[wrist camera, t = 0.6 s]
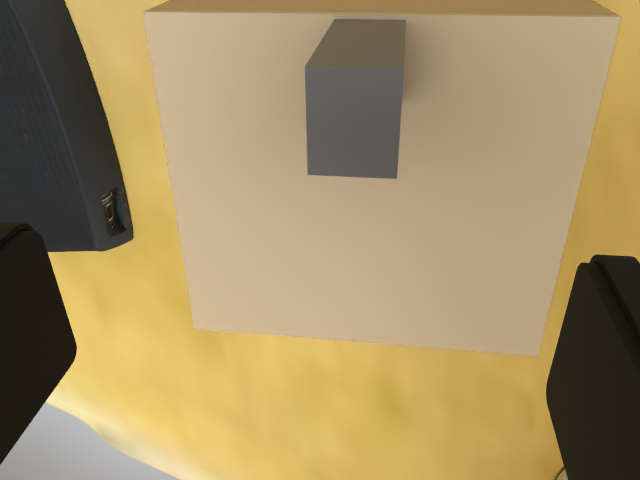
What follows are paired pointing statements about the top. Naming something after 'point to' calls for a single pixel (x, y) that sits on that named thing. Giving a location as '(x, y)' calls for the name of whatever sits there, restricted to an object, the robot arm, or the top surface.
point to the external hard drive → (55, 134)
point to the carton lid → (377, 168)
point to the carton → (395, 6)
